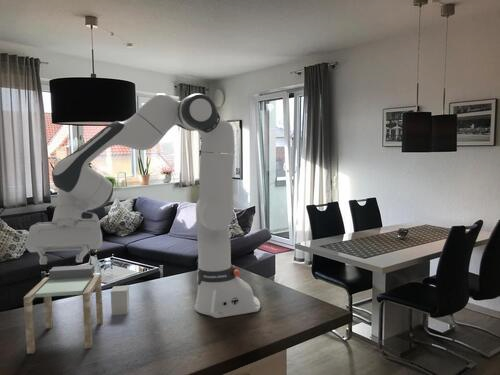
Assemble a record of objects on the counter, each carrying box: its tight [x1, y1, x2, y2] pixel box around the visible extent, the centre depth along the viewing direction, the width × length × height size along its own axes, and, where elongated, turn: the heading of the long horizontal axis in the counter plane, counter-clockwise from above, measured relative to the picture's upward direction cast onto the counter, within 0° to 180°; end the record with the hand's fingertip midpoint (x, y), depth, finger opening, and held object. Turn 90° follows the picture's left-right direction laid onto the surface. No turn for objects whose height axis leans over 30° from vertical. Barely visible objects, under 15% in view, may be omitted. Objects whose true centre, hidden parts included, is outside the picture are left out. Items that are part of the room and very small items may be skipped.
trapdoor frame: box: [23, 273, 104, 355], centre depth 115 cm, size 16×17×16 cm
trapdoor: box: [35, 264, 95, 298], centre depth 116 cm, size 12×16×4 cm
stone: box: [110, 284, 130, 316], centre depth 133 cm, size 5×5×8 cm
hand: (60, 262), depth 110 cm, fingers open, 8 cm apart
